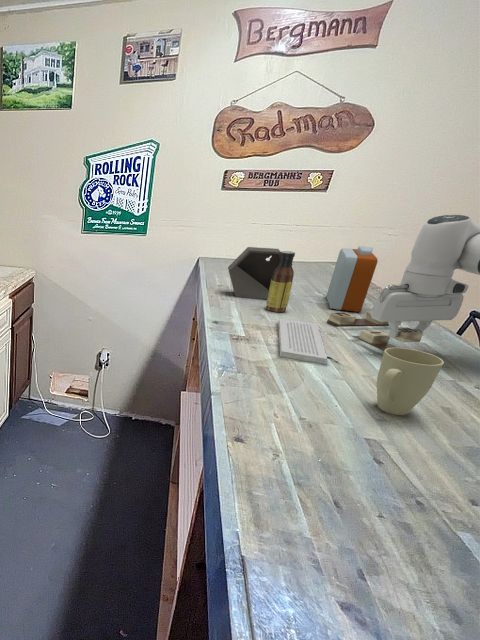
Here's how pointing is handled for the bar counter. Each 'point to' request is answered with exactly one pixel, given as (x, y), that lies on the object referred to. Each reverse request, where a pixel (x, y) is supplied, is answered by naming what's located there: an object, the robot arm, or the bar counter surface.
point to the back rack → (353, 320)
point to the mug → (405, 378)
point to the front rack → (375, 339)
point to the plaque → (301, 341)
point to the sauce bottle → (281, 283)
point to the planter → (254, 272)
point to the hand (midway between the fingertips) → (404, 336)
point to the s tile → (408, 335)
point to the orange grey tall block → (351, 279)
